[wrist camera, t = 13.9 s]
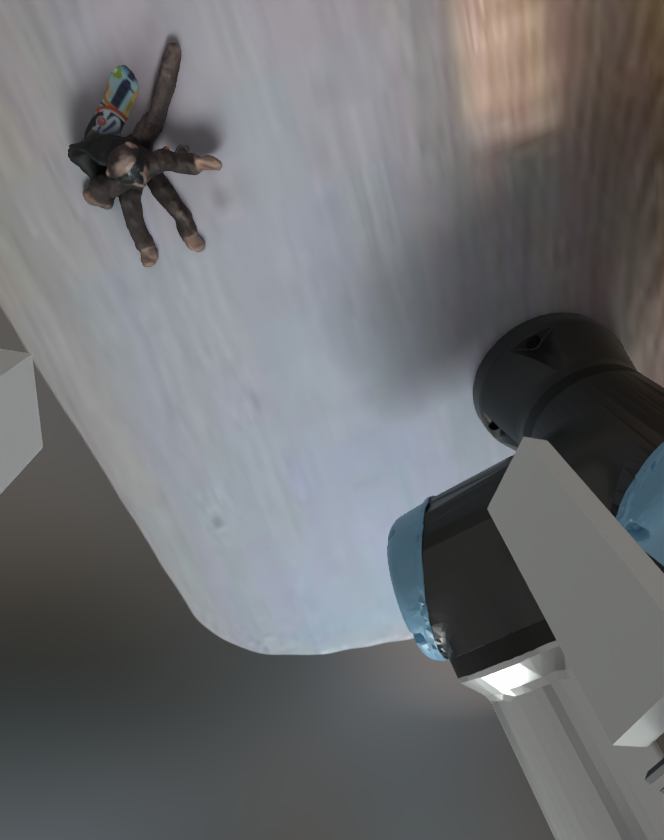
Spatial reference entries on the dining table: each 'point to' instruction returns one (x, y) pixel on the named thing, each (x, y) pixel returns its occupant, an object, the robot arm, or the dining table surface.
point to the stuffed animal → (138, 156)
